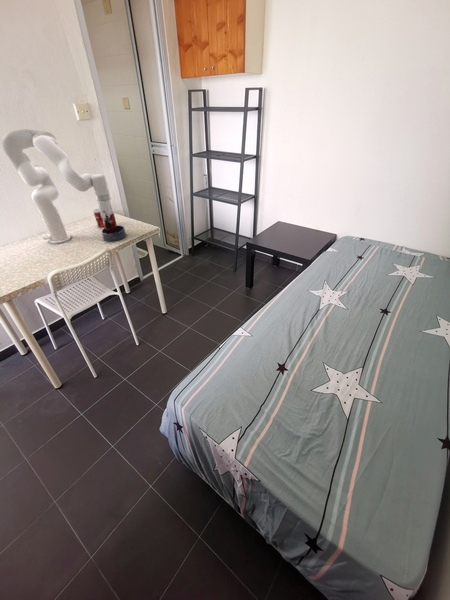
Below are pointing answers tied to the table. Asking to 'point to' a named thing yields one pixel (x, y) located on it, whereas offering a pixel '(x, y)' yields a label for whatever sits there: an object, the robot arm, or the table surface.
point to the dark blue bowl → (114, 234)
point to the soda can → (113, 224)
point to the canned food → (98, 218)
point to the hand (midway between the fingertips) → (110, 225)
